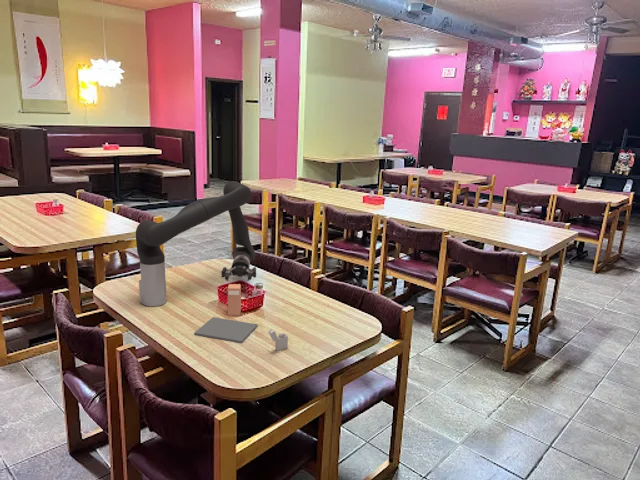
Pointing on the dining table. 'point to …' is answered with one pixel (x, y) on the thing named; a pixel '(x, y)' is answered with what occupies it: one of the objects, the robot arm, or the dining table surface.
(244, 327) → the mat
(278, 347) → the lighter
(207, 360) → the dining table surface
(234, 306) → the block
